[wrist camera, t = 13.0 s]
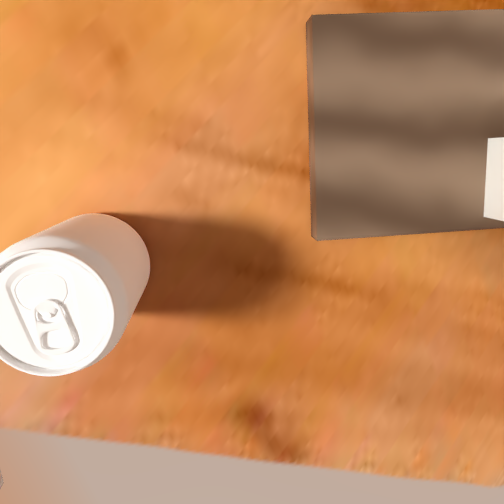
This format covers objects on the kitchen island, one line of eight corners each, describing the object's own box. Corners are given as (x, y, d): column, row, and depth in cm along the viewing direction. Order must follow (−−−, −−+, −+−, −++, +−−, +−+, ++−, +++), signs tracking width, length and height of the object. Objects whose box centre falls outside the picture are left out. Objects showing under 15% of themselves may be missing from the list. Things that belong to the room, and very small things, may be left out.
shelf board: (305, 22, 34) (315, 9, 31) (585, 14, 35) (621, 0, 32) (311, 236, 37) (320, 243, 34) (566, 218, 39) (597, 224, 36)
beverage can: (137, 202, 35) (102, 226, 24) (161, 300, 37) (139, 367, 25) (32, 223, 35) (-56, 257, 23) (61, 321, 37) (-8, 398, 25)
